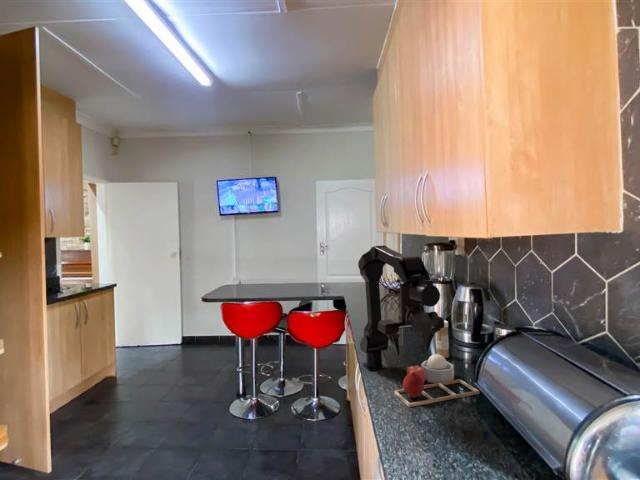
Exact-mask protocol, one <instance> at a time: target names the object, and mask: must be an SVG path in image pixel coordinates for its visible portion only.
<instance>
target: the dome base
mask: <svg viewBox="0 0 640 480" xmlns="http://www.w3.org/2000/svg"><path fill="white" fill-rule="evenodd" d="M446 362H447V364H448V365H449V369H445V370H435V369H429V368H428V367H426V363H428V359H427V360H424V361H423V362H422V363H421V364H420V366H419V365H412V366H408V367H407V366H406V376H407V375H408V374H410V371H411V370H412V371H414V372H415V373H416V374H417V375H418V376H419V377H420V378H421V379H422V381H423V384H425V383H426V382H427V383H431V384H435V383H440V382H446V381H452V380H455V379H454V378H455V365H454V364H453V363H450V361H447V360H446Z"/></svg>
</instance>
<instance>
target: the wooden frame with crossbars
mask: <svg viewBox="0 0 640 480" xmlns="http://www.w3.org/2000/svg"><path fill="white" fill-rule="evenodd" d="M457 383H458V384H459V383H460V384H461V385H463V386H465V387H467V388H468V389H469V390H471V391H466V392H463V393H455V392H454V391H452V390H450V389H449V388H448V387H446V386H447V385H453V384H457ZM436 387H439V388H440V389H442V390H443V391H445V392H446V393H448V394H450V395H447V396H442V397H441V396H440V397H436V398H434V397H432V396H431V395H429V394H428V393H427V392H425V391H424V390H425V389H430V388H436ZM402 393H403V394H404V393H406V392H405V390H404V388H401V389H395V390H393V394H394V395H395V396H396V397H398V398H399V400H401V401H402V402H403V403H404V404H405V405H406V406H408V408H411V407H416V406H421V405H428V404H434V403H437V402H442V401H443V402H444V401H448V400H453V399H458V398H465V397H470V396H473V395H479V394H480V390H479V389H477V388H476V387H474V386H472V385H470V384H469V383H467V382H466V381H464V380H462V379H461V378H460V379H459V378H458V379H453V380H452V381H446V382H440V383H430V384H424V389H423V391H422V393H421V394H422V395H423V396H424V397H425V398H427V399H425V400H419V401H415V402H409V401H408V400H407V399H406V398H405V397H404V396H403V395H402Z"/></svg>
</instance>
